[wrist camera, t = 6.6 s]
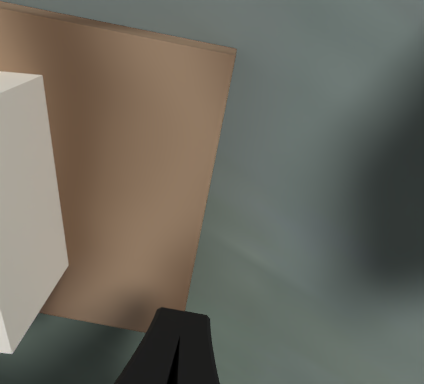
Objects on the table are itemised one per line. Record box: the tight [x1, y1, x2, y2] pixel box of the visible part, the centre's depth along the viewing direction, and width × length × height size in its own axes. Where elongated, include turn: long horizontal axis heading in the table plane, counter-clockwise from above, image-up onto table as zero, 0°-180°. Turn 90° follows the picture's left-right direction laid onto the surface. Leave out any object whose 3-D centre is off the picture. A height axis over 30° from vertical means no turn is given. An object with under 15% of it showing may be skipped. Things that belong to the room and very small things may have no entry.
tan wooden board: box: [0, 1, 237, 333], centre depth 15 cm, size 12×13×2 cm
